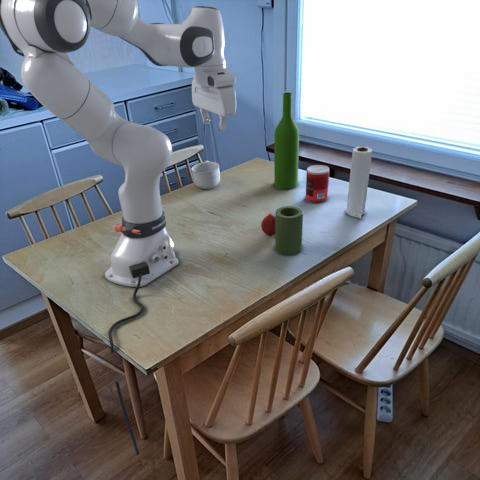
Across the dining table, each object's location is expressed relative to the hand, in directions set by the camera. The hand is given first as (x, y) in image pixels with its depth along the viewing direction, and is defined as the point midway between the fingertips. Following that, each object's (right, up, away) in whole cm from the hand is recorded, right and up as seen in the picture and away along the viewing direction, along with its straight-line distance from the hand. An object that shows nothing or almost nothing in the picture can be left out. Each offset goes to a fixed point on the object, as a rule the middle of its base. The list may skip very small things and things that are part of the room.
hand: (214, 127), depth 138 cm
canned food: (+35, -14, +29) cm, 48 cm away
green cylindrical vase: (+22, -36, +2) cm, 42 cm away
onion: (+17, -31, +9) cm, 37 cm away
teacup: (-5, -4, +44) cm, 45 cm away
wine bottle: (+25, -6, +40) cm, 48 cm away
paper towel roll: (+47, -22, +19) cm, 55 cm away
